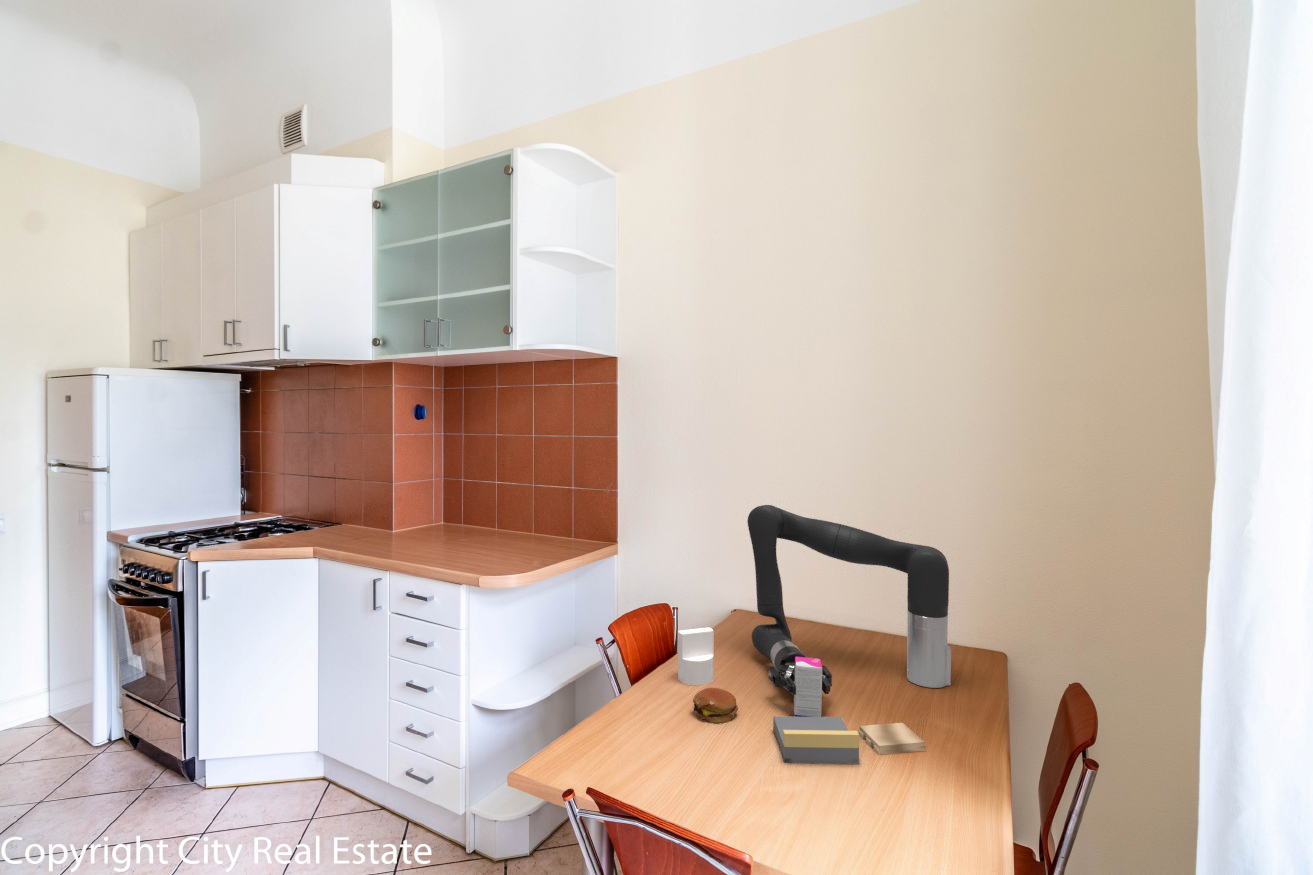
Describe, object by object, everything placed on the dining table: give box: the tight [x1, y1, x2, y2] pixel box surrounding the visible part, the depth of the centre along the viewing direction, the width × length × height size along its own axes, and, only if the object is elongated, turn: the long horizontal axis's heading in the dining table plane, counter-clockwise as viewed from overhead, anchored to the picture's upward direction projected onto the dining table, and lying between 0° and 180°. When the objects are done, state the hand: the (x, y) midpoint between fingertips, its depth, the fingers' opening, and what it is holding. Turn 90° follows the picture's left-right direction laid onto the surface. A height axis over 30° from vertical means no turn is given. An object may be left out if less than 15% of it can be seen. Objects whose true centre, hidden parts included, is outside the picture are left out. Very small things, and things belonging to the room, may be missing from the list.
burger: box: [692, 687, 739, 724], centre depth 132 cm, size 10×9×5 cm
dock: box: [772, 715, 860, 765], centre depth 118 cm, size 14×12×6 cm
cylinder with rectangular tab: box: [677, 626, 715, 686], centre depth 151 cm, size 9×9×12 cm
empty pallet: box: [858, 722, 927, 756], centre depth 120 cm, size 10×8×2 cm
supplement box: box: [793, 656, 823, 717], centre depth 132 cm, size 6×6×12 cm
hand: (811, 690), depth 130 cm, fingers closed on supplement box, 6 cm apart
